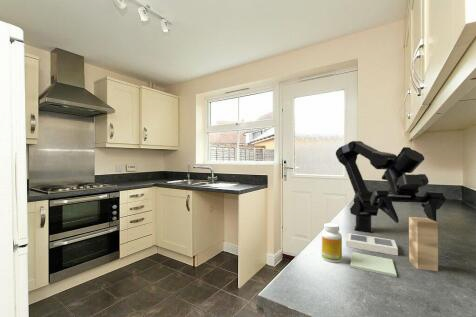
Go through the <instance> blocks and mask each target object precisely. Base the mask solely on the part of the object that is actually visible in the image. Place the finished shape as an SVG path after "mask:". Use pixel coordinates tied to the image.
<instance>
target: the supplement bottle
mask: <svg viewBox="0 0 476 317" xmlns="http://www.w3.org/2000/svg"><path fill="white" fill-rule="evenodd" d="M339 231H340V226H339V224H337V223H332V222H330V223H328V222H326V223H324V224H323V231H322V232H321V258H322V259H323V260H324V261H326V262H329V263H340V262H342V260H343V250H342V248H343V246H342V245H343V236H342V234H341V233H340V232H339Z"/></svg>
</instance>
